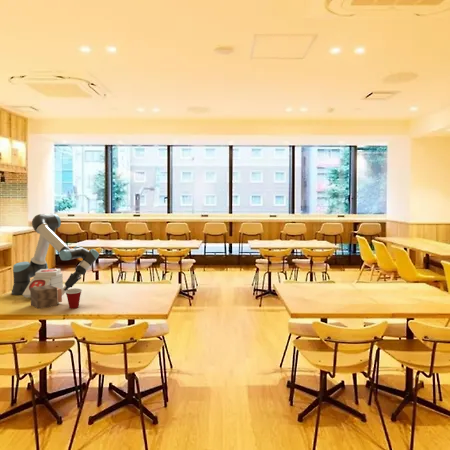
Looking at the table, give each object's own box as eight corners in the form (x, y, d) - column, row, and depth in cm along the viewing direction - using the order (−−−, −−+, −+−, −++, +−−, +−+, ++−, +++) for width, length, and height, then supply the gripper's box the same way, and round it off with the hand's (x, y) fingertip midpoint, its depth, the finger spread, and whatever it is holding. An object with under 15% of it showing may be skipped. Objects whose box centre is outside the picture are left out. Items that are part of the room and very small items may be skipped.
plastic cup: (64, 310, 291) (63, 292, 290) (66, 306, 302) (66, 288, 301) (81, 309, 293) (80, 291, 292) (83, 305, 304) (82, 288, 303)
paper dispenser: (20, 299, 321) (19, 275, 319) (45, 290, 350) (44, 268, 348) (43, 300, 316) (42, 276, 315) (67, 291, 346) (66, 268, 344)
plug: (56, 299, 315) (56, 286, 314) (62, 301, 308) (61, 288, 307) (39, 302, 307) (39, 289, 306) (44, 305, 300) (44, 291, 299)
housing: (49, 301, 314) (49, 284, 313) (57, 305, 304) (56, 287, 303) (31, 305, 305) (30, 287, 304) (38, 308, 295) (37, 290, 294)
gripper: (90, 272, 319) (68, 298, 309) (82, 269, 328) (61, 295, 318) (83, 265, 315) (60, 292, 305) (75, 263, 324) (53, 289, 314)
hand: (61, 294), depth 312 cm, fingers closed
